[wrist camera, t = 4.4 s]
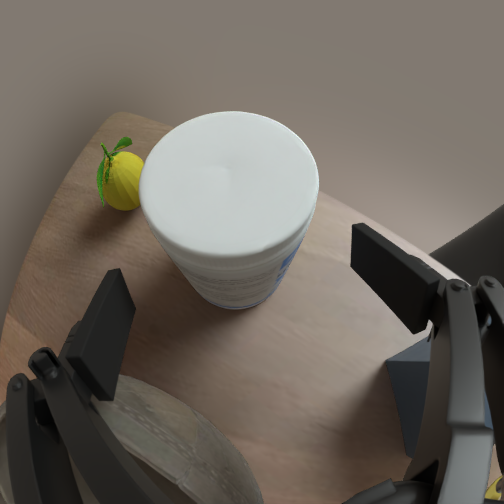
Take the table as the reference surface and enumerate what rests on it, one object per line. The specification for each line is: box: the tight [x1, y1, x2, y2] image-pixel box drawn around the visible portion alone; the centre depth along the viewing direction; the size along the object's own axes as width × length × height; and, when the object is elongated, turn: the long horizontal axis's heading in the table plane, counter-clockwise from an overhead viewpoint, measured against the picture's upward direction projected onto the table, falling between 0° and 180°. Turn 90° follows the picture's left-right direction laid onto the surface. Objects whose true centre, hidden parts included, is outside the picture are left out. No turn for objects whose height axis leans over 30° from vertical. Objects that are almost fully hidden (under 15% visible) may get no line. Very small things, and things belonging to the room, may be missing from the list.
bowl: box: [0, 374, 264, 504], centre depth 12 cm, size 21×21×15 cm
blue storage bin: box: [386, 317, 495, 459], centre depth 18 cm, size 13×13×10 cm
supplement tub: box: [139, 112, 319, 309], centre depth 20 cm, size 10×10×15 cm
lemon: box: [97, 137, 144, 211], centre depth 24 cm, size 7×6×10 cm
